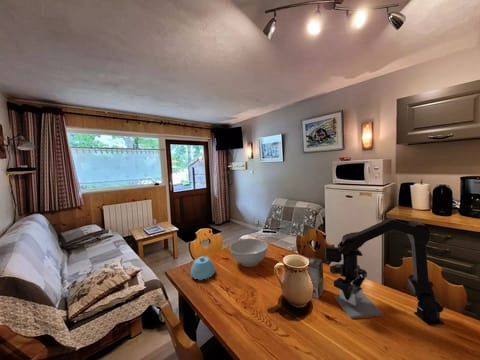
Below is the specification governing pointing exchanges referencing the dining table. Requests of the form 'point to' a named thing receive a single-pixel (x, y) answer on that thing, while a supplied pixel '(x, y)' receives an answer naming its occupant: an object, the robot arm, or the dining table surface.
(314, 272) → the coffee box
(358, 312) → the duct plate
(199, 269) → the light blue dome
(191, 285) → the dining table surface
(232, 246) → the decorative bowl
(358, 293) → the collar
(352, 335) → the dining table surface
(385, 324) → the dining table surface
